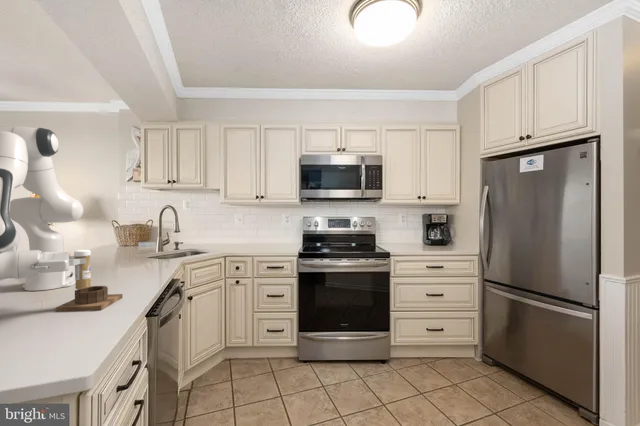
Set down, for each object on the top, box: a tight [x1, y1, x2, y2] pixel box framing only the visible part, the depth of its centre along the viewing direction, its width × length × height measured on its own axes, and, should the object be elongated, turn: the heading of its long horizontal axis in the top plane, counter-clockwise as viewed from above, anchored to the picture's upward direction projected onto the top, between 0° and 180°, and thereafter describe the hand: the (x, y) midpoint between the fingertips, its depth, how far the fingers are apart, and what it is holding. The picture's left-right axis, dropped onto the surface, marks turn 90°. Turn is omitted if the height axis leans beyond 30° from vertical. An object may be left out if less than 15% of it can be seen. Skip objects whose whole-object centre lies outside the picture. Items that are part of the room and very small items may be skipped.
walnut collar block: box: [55, 285, 123, 313], centre depth 109 cm, size 14×14×6 cm
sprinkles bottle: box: [73, 249, 92, 290], centre depth 107 cm, size 5×5×14 cm
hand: (86, 259), depth 107 cm, fingers closed on sprinkles bottle, 4 cm apart
